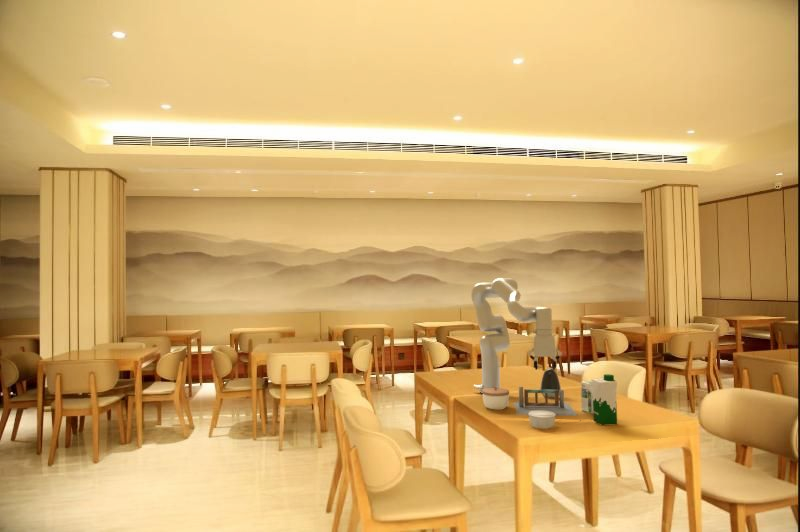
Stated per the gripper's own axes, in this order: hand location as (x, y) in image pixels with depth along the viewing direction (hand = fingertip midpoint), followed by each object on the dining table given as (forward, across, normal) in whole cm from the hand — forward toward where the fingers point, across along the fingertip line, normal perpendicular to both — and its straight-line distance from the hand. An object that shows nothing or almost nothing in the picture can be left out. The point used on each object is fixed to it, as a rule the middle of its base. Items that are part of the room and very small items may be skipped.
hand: (545, 369), depth 254 cm
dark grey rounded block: (+18, +5, +19) cm, 27 cm away
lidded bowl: (+18, -24, -8) cm, 31 cm away
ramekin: (+18, -6, -34) cm, 39 cm away
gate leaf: (+16, -3, -6) cm, 18 cm away
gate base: (+18, -2, -9) cm, 20 cm away
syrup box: (+18, +18, -13) cm, 29 cm away
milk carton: (+18, +21, -27) cm, 39 cm away
